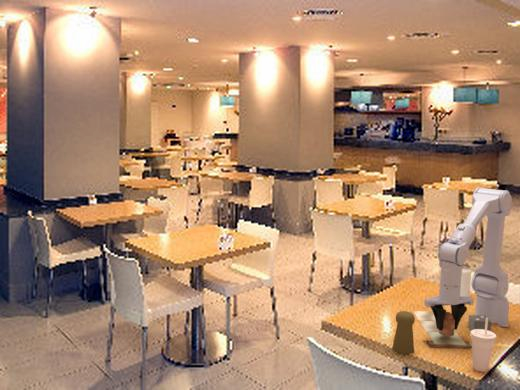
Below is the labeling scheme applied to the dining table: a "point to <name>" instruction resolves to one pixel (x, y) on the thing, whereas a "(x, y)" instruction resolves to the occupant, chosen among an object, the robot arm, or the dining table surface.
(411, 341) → the olive brown pawn
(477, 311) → the robot arm
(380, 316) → the dining table surface
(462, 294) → the can
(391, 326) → the dining table surface
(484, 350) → the smoothie
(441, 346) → the game board
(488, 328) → the die
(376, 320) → the dining table surface
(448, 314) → the pawn
